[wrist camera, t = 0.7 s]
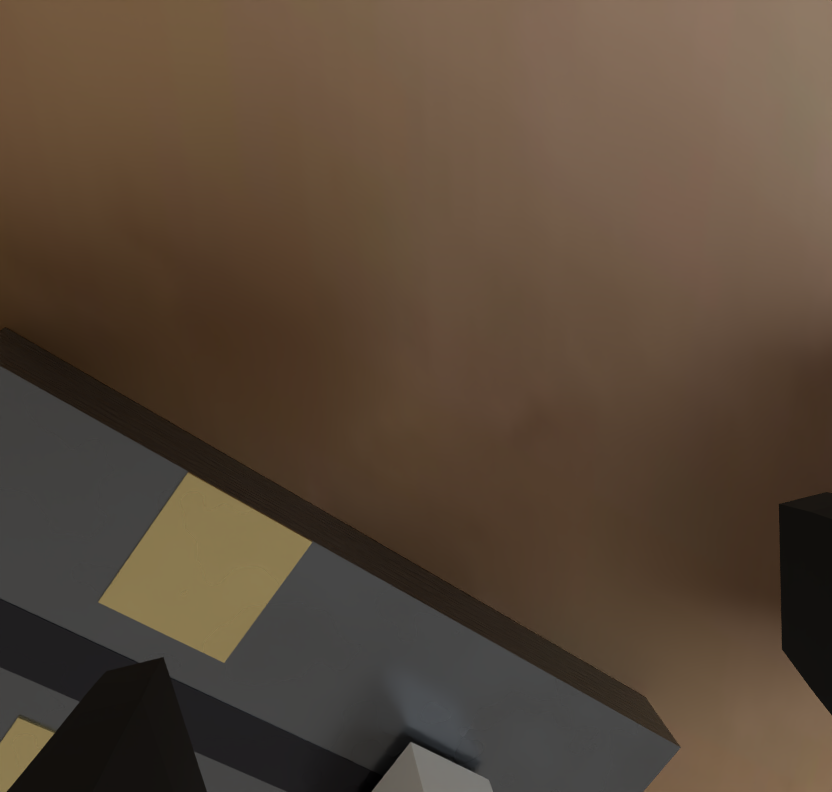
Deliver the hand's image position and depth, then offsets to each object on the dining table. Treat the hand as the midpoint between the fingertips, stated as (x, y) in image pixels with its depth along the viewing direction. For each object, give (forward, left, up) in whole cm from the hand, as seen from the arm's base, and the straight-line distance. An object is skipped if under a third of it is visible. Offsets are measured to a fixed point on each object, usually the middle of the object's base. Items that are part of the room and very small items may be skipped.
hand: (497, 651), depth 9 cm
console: (-2, +8, -10) cm, 13 cm away
